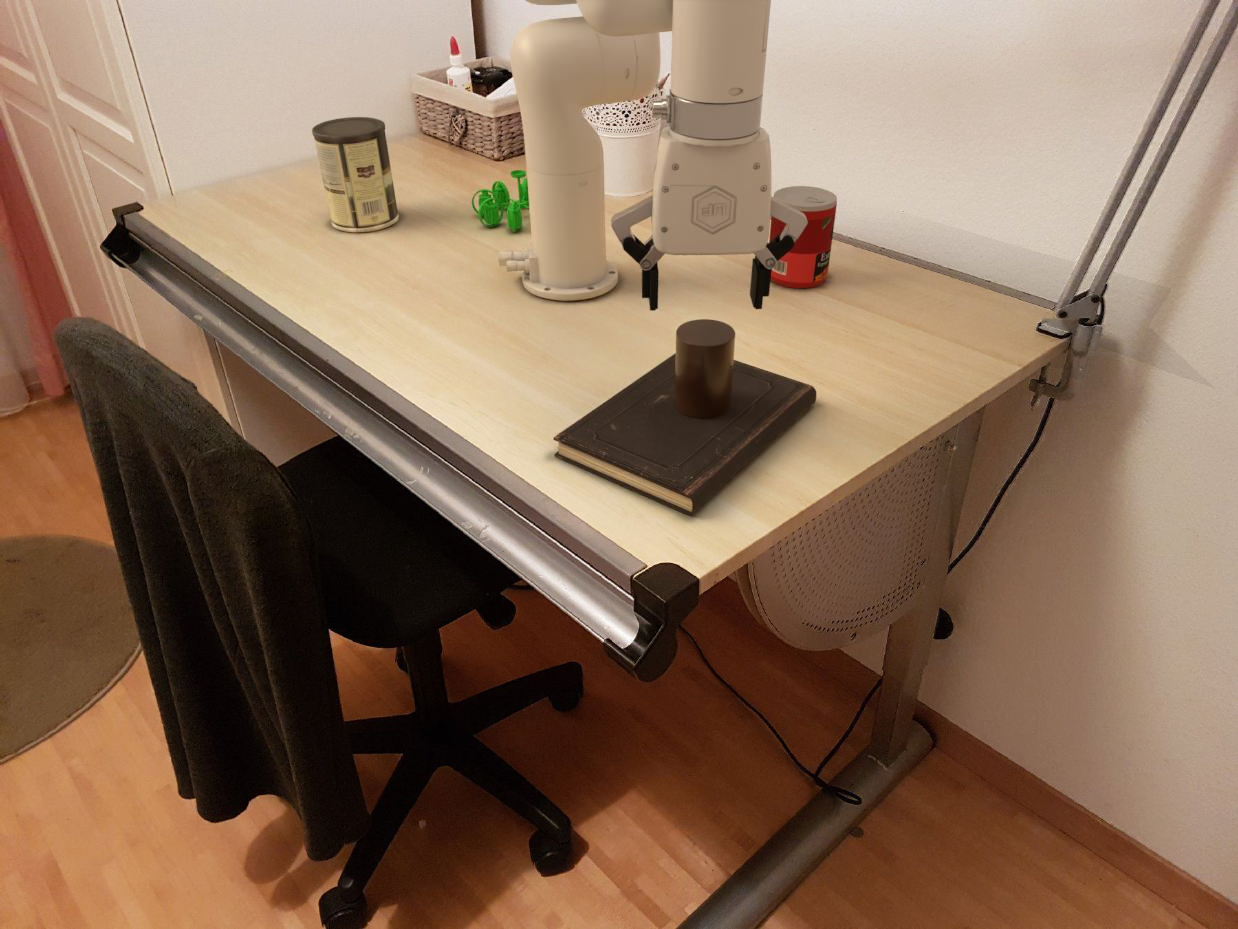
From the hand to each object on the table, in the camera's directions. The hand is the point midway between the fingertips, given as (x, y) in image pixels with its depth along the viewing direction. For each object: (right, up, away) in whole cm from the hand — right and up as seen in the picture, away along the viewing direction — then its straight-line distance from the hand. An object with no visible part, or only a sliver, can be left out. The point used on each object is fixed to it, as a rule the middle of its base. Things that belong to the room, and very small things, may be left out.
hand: (704, 303), depth 86 cm
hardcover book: (-1, -12, +6) cm, 13 cm away
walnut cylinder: (0, -9, +6) cm, 11 cm away
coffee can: (-47, +22, +55) cm, 76 cm away
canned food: (+16, +10, +36) cm, 40 cm away
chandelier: (-23, +23, +55) cm, 64 cm away
